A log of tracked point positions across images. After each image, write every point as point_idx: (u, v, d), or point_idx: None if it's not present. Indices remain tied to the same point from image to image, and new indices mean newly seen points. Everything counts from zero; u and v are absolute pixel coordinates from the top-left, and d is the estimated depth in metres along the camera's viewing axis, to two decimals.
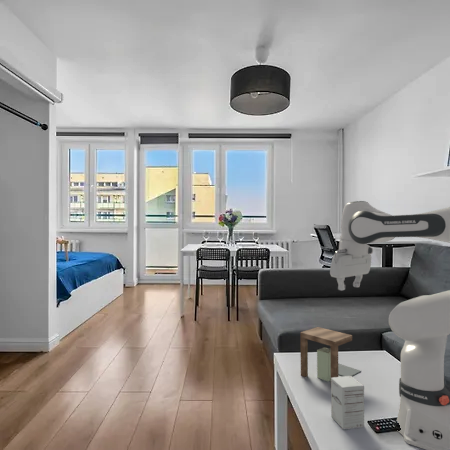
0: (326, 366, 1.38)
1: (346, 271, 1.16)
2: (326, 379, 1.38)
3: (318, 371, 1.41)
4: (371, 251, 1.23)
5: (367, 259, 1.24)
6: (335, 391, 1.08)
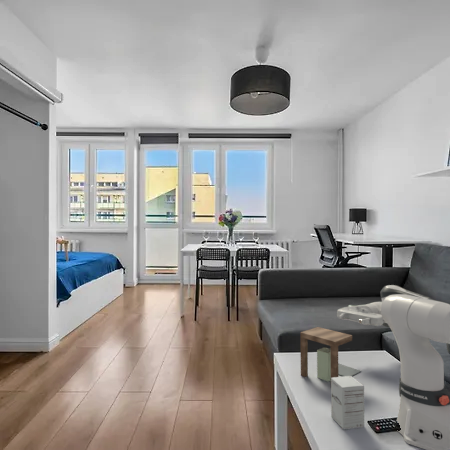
0: (326, 366, 1.38)
1: None
2: (326, 379, 1.38)
3: (318, 371, 1.41)
4: None
5: None
6: (335, 391, 1.08)
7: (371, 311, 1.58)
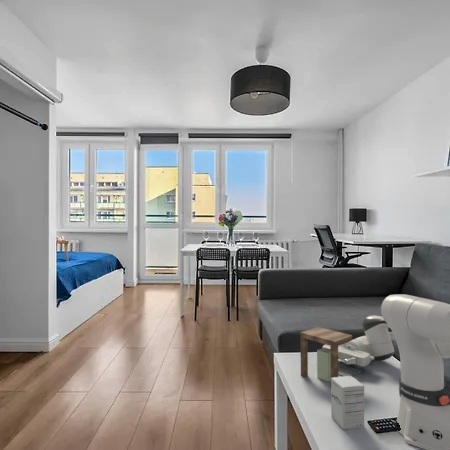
0: (326, 366, 1.38)
1: None
2: (326, 379, 1.38)
3: (318, 371, 1.41)
4: None
5: None
6: (335, 391, 1.08)
7: (357, 348, 1.52)
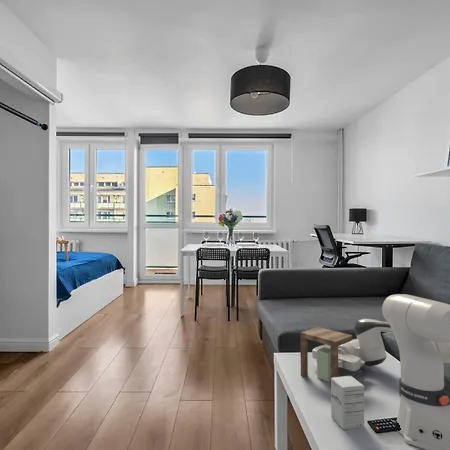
0: (326, 366, 1.38)
1: None
2: (326, 379, 1.38)
3: (318, 371, 1.41)
4: None
5: None
6: (335, 391, 1.08)
7: (348, 352, 1.46)
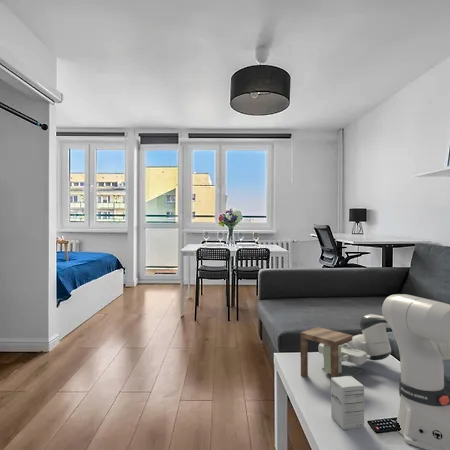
0: None
1: None
2: None
3: (325, 365, 1.44)
4: None
5: None
6: (335, 391, 1.08)
7: (354, 347, 1.49)
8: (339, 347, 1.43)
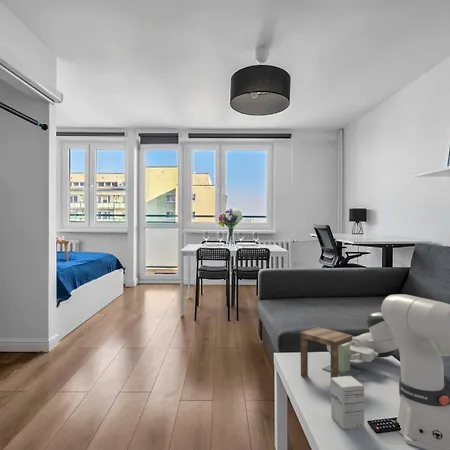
0: (341, 358, 1.45)
1: None
2: (342, 370, 1.45)
3: None
4: None
5: None
6: (335, 391, 1.08)
7: (362, 344, 1.53)
8: (348, 345, 1.47)
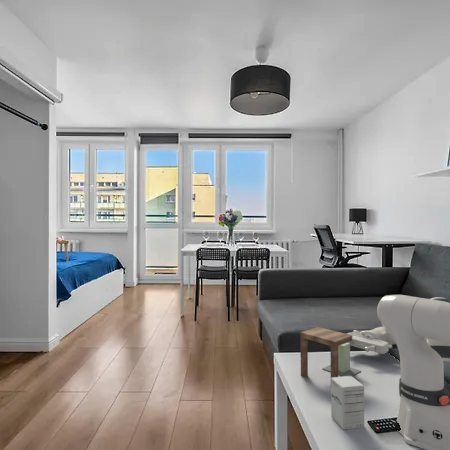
0: (341, 358, 1.45)
1: None
2: (342, 370, 1.45)
3: None
4: None
5: None
6: (335, 391, 1.08)
7: (376, 337, 1.62)
8: (348, 345, 1.47)
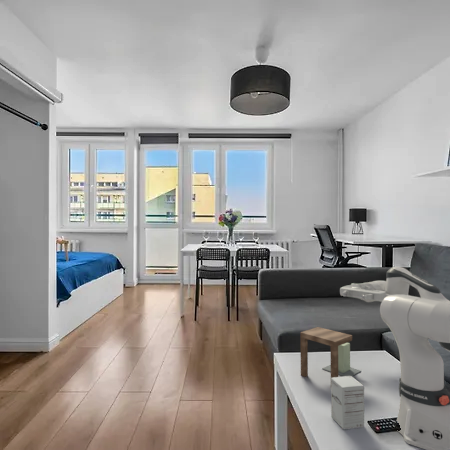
0: (341, 358, 1.45)
1: None
2: (342, 370, 1.45)
3: None
4: None
5: None
6: (335, 391, 1.08)
7: (374, 288, 1.61)
8: (348, 345, 1.47)
